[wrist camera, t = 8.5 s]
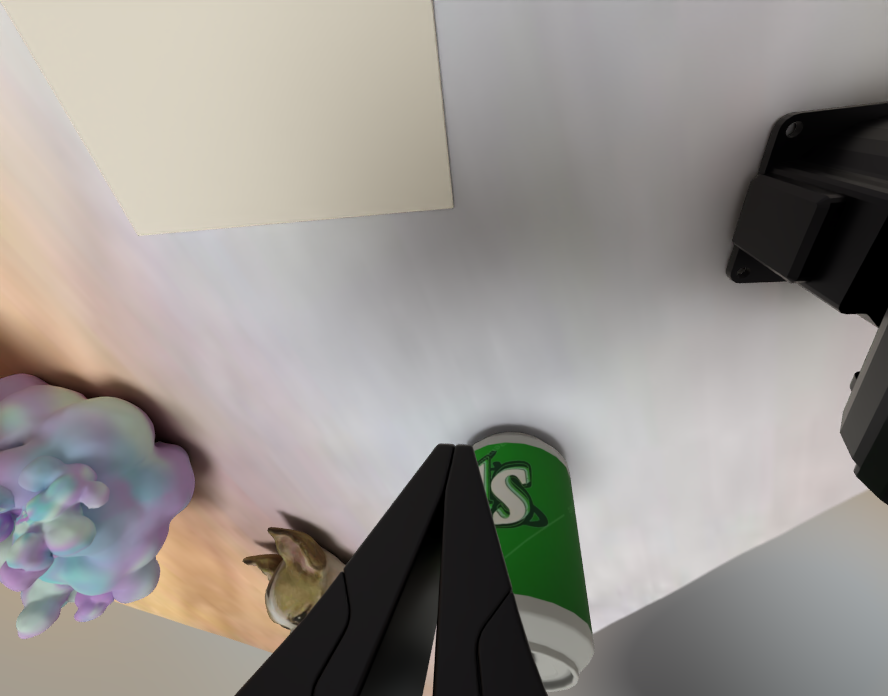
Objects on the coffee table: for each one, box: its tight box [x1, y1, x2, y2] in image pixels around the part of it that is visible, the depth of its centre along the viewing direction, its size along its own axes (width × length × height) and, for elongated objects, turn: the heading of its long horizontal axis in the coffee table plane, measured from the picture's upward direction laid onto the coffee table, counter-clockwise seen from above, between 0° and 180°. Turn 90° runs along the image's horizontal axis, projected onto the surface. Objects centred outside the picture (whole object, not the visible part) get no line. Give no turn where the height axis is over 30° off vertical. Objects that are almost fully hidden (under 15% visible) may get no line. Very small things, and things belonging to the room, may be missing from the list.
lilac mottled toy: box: [0, 373, 195, 639], centre depth 27 cm, size 20×22×18 cm
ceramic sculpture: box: [243, 527, 346, 634], centre depth 37 cm, size 11×9×15 cm
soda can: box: [473, 432, 594, 692], centre depth 22 cm, size 8×8×12 cm
